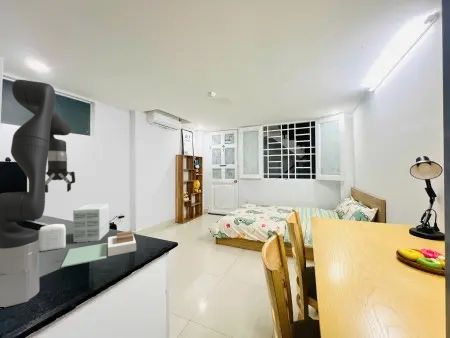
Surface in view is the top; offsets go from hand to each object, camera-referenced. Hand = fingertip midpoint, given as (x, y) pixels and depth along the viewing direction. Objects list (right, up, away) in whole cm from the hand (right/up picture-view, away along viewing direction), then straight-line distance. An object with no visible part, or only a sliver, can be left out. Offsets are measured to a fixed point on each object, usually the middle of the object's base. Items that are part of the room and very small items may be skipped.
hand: (57, 191), depth 101 cm
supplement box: (+7, -29, +16) cm, 34 cm away
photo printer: (-1, -29, -2) cm, 29 cm away
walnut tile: (+34, -23, 0) cm, 41 cm away
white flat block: (+33, -28, 0) cm, 43 cm away
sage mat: (+20, -29, -8) cm, 36 cm away
